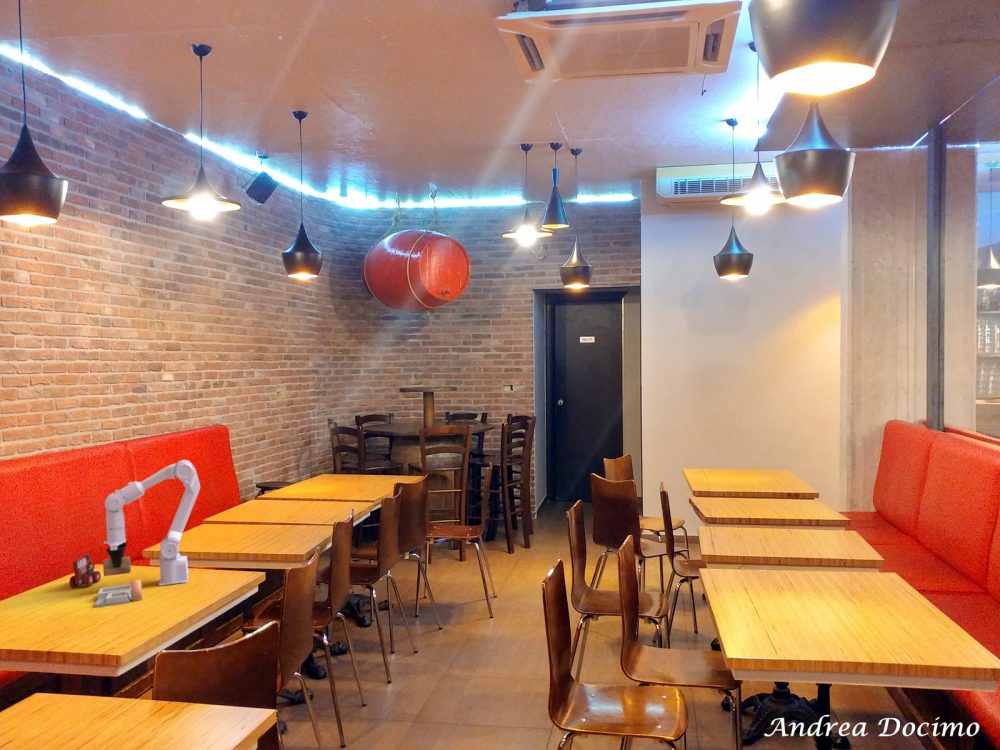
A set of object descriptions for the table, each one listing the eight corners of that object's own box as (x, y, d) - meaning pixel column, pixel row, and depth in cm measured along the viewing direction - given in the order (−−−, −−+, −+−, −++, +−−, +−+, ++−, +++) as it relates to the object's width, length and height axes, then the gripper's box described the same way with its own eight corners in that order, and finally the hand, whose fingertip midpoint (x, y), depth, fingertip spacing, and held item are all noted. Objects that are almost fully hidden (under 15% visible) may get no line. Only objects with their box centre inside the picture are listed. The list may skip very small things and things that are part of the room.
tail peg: (142, 597, 266) (141, 579, 266) (141, 600, 263) (140, 581, 263) (132, 599, 265) (131, 580, 265) (131, 601, 262) (130, 582, 262)
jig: (134, 591, 274) (133, 583, 274) (129, 602, 261) (128, 595, 261) (101, 595, 271) (101, 588, 270) (94, 607, 257) (93, 599, 257)
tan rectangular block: (130, 570, 280) (129, 556, 279) (129, 573, 276) (128, 558, 276) (105, 573, 277) (104, 559, 277) (103, 576, 274) (102, 561, 274)
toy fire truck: (103, 579, 292) (102, 551, 291) (86, 589, 279) (84, 560, 279) (85, 579, 292) (83, 552, 291) (66, 590, 279) (65, 561, 279)
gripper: (106, 525, 282) (109, 562, 282) (99, 533, 268) (102, 572, 269) (128, 522, 284) (130, 559, 284) (122, 531, 270) (124, 570, 271)
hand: (118, 565), depth 277 cm, fingers closed on tan rectangular block, 3 cm apart
